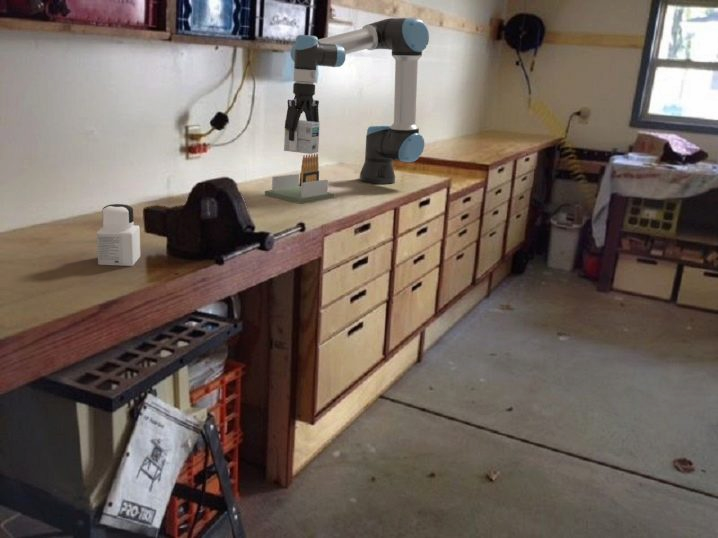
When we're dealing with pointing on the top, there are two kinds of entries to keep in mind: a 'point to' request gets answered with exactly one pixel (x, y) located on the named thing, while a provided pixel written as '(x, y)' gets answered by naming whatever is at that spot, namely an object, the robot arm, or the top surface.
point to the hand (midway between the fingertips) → (301, 149)
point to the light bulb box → (304, 137)
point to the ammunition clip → (309, 169)
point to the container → (118, 237)
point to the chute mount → (298, 189)
